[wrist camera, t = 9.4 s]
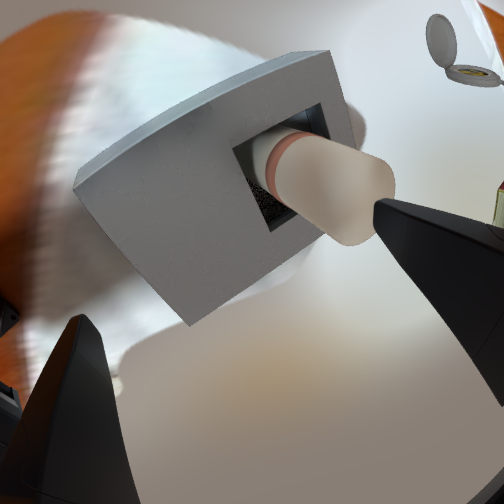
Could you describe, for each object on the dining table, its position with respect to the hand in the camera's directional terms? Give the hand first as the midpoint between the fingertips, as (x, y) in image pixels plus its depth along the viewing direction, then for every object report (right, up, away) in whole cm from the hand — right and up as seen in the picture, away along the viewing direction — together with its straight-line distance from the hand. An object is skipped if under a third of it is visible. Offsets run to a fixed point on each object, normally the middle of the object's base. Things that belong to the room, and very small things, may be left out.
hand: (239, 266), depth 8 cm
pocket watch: (+21, +23, +15) cm, 34 cm away
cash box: (-1, +6, +12) cm, 14 cm away
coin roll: (+1, +7, +12) cm, 15 cm away
